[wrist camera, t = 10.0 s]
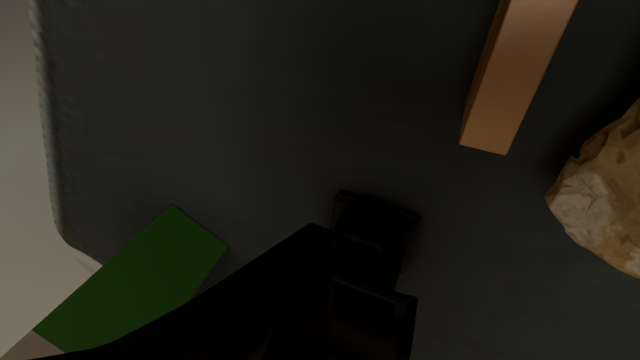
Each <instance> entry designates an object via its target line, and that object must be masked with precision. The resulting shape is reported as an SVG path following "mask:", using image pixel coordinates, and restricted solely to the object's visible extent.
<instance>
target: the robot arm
mask: <svg viewBox="0 0 640 360" xmlns="http://www.w3.org/2000/svg"><path fill="white" fill-rule="evenodd" d="M340 197H342V198H343V199H341V198H340ZM412 219H415V220H416V221H413V220H412ZM420 223H421V216H420V215H419V214H417V213H414V212H411V211H407V210H404V209H401V208H397V207H394V206H390V205H387V204H384V203H380V202H377V201H374V200H370V199H367V198H364V197H360V196H357V195H354V194H350V193H347V192H343V191H339V192H337V194H336V195H335V198H334V208H333V217H332V226H331V229H328V228H324V229H323V227H322V226H319V225H316V224H314V223H309V224H308V225H306V226H305V227H303V228H301V229H300V230H298V231H297V232H295V233H294V234H292V235H291V236H289V237H288V238H286V239H285V240H283V241H282V242H280V243H278V244H277V245H275V246H274V247H272V248H271V249H269V250H268V251H266V252H265V253H263V254H262V255H260V256H258V257H257V258H255V259H254V260H252V261H251V262H249V263H248V264H246V265H245V266H243V267H242V268H240V269H238V270H237V271H235V272H234V273H232V274H231V275H229V276H228V277H226V278H225V279H223V280H222V281H220V282H219V283H217V286H216V285H214V286H212V287H211V288H209V289H208V290H206V291H204V292H203V293H201V294H200V295H198V296H196V297H195V298H193V299H192V300H190V301H188V302H187V303H185V304H183V305H181V306H179V307H178V308H176V309H174V310H172V311H170V312H168V313H167V314H165V315H163V316H161V317H159V318H157V319H155V320H153V321H151V322H149V323H147V324H145V325H144V326H142V327H140V328H138V329H136V330H134V331H132V332H130V333H128V334H126V335H124V336H122V337H120V338H118V339H116V340H114V341H112V342H109V343H107V344H104V345H101V346H98V347H95V348H91V349H86V350H81V351H75V352H69V353H64V354H58V355H52V356H46V357H41V358H35V359H29V360H409V358H410V353H411V348H412V341H413V333H414V325H415V318H416V310H417V302H418V298H417V297H414V296H412V295H409V296H407V295H405V294H402V293H399V292H396V291H395V289H396V285H397V281H398V278H399V274H402V273H404V271H405V268H406V265H407V262H408V259H409V256H410V253H411V250H412V247H413V244H414V241H415V238H416V235H417V232H418V229H419V226H420Z"/></svg>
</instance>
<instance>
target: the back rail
mask: <svg viewBox="0 0 640 360" xmlns="http://www.w3.org/2000/svg"><path fill="white" fill-rule="evenodd" d="M578 1H579V0H500V2H499V5H498V8H497V11H496V14H495V17H494V20H493V23H492V25H491V28H490V31H489V34H488V37H487V40H486V43H485V46H484V49H483V52H482V55H481V58H480V61H479V63H478V66H477V69H476V72H475V75H474V78H473V81H472V84H471V87H470V90H469V93H468V96H467V99H466V103H465V109H464V115H463V121H462V127H461V134H460V140H459V144H460V145H463V146H467V147H472V148H476V149H480V150H484V151H488V152H493V153H497V154H501V155H506V154H507V152H508V150H509V148H510V146H511V143H512V141H513V139H514V137H515V135H516V133H517V131H518V129H519V126H520V124H521V122H522V120H523V118H524V116H525V114H526V112H527V109H528V107H529V105H530V103H531V101H532V99H533V97H534V95H535V92H536V90H537V88H538V86H539V84H540V82H541V80H542V77H543V75H544V73H545V71H546V69H547V67H548V65H549V63H550V60H551V58H552V56H553V54H554V52H555V50H556V48H557V46H558V43H559V41H560V39H561V37H562V35H563V33H564V31H565V29H566V26H567V24H568V22H569V20H570V18H571V16H572V14H573V12H574V9H575V7H576V5H577V3H578Z"/></svg>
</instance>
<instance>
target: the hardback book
mask: <svg viewBox="0 0 640 360" xmlns="http://www.w3.org/2000/svg"><path fill="white" fill-rule="evenodd" d="M227 248H228V246H227V245H226V244H225V243H223V242H222V241H221V240H219V239H218V238H217V237H215V236H214V235H213V234H211V233H210V232H208V231H207V230H206V229H204V228H203V227H202V226H200V225H199V224H198V223H196V222H195V221H194V220H192V219H191V218H190V217H188V216H187V215H185V214H184V213H183V212H181V211H180V210H179V209H177V208H176V207H175V206H173V205H171V206H170V207H168V208H167V209H166V210H165V211H164V212H163V213H162V214H161V215H159V216H158V217H157V218H156V219H155V220H154V221H153V222H152V223H151V224H149V225H148V226H147V227H146V228H145V229H144V230H143V231H142V232H140V233H139V234H138V235H137V236H136V237H135V238H134V239H133V240H132V241H130V242H129V243H128V244H127V245H126V246H125V247H124V248H123V249H121V250H120V251H119V252H118V253H117V254H116V255H115V256H114V257H113V258H111V259H110V260H109V261H108V262H107V263H106V264H105V265H104V266H103V267H101V268H100V269H99V270H98V271H97V272H96V273H95V274H94V275H92V276H91V277H90V278H89V279H88V280H87V281H86V282H85V283H83V284H82V285H81V286H80V287H79V288H78V289H77V290H76V291H75V292H73V293H72V294H71V295H70V296H69V297H68V298H67V299H66V300H64V301H63V302H62V303H61V304H60V305H59V306H58V307H57V308H56V309H54V310H53V311H52V312H51V313H50V314H49V315H48V316H47V317H45V318H44V319H43V320H42V321H41V322H40V323H39V324H38V325H37V326H35V327H34V328H33V329H32V330H31V331H30V332H29V333H28V334H27V335H26V336H24V337H23V338H22V339H21V340H20V341H19V342H18V343H16V344H15V346H13V347H12V348H11V349H10V350H9V351H8V352H6V353H5V354H4V355H3V356H2V357H1V358H0V360H29V359H35V358H41V357H46V356H52V355H58V354H64V353H69V352H75V351H81V350H86V349H91V348H95V347H98V346H101V345H104V344H107V343H109V342H112V341H114V340H116V339H118V338H120V337H122V336H124V335H126V334H128V333H130V332H132V331H134V330H136V329H138V328H140V327H142V326H144V325H145V324H147V323H149V322H151V321H153V320H155V319H157V318H159V317H161V316H163V315H165V314H167V313H168V312H170V311H172V310H174V309H176V308H178V307H179V306H181V305H183V304H185V303H187V302H188V301H190V299H191V298H192V296H193V295H194V294H195V292H196V291H197V290H198V288H199V287H200V285H201V284H202V283H203V281H204V280H205V278H206V277H207V276H208V274H209V273H210V271H211V270H212V269H213V267H214V266H215V265H216V263H217V262H218V260H219V259H220V258H221V256H222V255H223V253H224V252H225V251H226V249H227Z"/></svg>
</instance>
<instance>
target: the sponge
mask: <svg viewBox="0 0 640 360" xmlns="http://www.w3.org/2000/svg"><path fill="white" fill-rule="evenodd" d="M579 152H580V156H579V158H578V159H576V158H575V157H573V156H570V158H569V159H568V161H567V162H566V164H565V166H564V167H563V169H562V170H561V172H560V174H559V176H558V178H557V180H556V182H555V185H553V186H552V187H551V188H550V189H549V190H548V191H547V193H546V194H545V195H544V198H545V200H546V202H547V205H548V207H549V209H550V210H551V212H552V213H553V215H554V216H555V217H556V218H557V219H558V220H559V221H560V223H561V224H562V225H563V226H564V227H565V231H566V233H567V234H568V235H569V236H570V237H571V238H572V239H573V240H574V241H575V242H576V243H577V244H578V245H580V246H582V247H584V248H587V249H589V250H590V251H591V252H593V253H594V254H596V255H597V256H599V257H600V258H601V259H603V260H604V261H606V262H607V263H609V264H611V265H612V266H614V267H615V268H617V269H618V270H620V271H621V272H623V273H626V274H628V275H631V276H634V277H636V278H639V279H640V98H639V99H638V100H637V101H636V102H635V103H634V104H633V105H632V106H631V107H630V108H629V109H628V111H627V112H626V113H625V114H624V115H623V116H622V117H621V118H619V119H618V120H616V121H614V122H612V123H611V124H609V125H607V126H606V127H604V128H603V129H601V130H599V131H598V132H597V133H595V134H594V135H593V136H591V137H590V138H589V139H588V140H586V141H585V142H584V143H583V145H582V147H581V148H580V150H579Z"/></svg>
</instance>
